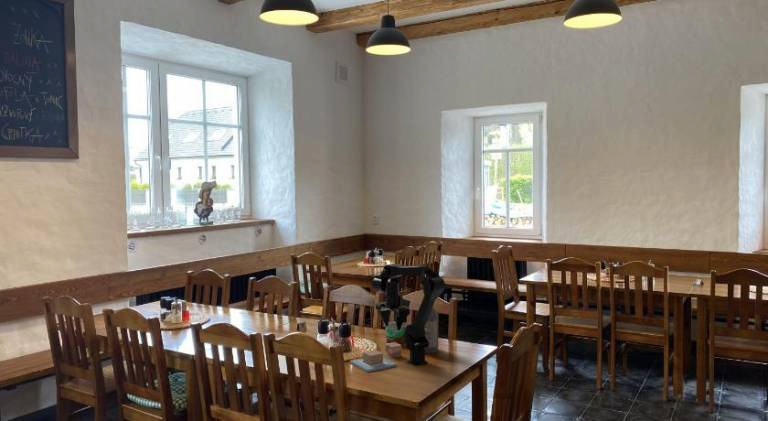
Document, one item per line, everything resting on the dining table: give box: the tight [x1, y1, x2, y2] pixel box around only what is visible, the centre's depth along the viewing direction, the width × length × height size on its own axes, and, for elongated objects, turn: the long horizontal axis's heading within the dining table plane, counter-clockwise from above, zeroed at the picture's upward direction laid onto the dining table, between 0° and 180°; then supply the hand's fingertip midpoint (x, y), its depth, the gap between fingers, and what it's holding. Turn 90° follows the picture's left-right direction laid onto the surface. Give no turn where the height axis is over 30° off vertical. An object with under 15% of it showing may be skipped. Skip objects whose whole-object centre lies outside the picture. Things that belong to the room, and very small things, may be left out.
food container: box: [383, 320, 409, 345], centre depth 283 cm, size 12×6×10 cm, turn 62°
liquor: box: [415, 285, 439, 354], centre depth 270 cm, size 9×9×30 cm
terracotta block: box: [384, 342, 402, 359], centre depth 264 cm, size 5×5×5 cm
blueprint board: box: [349, 349, 397, 373], centre depth 251 cm, size 14×14×5 cm
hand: (392, 328), depth 264 cm, fingers open, 9 cm apart
